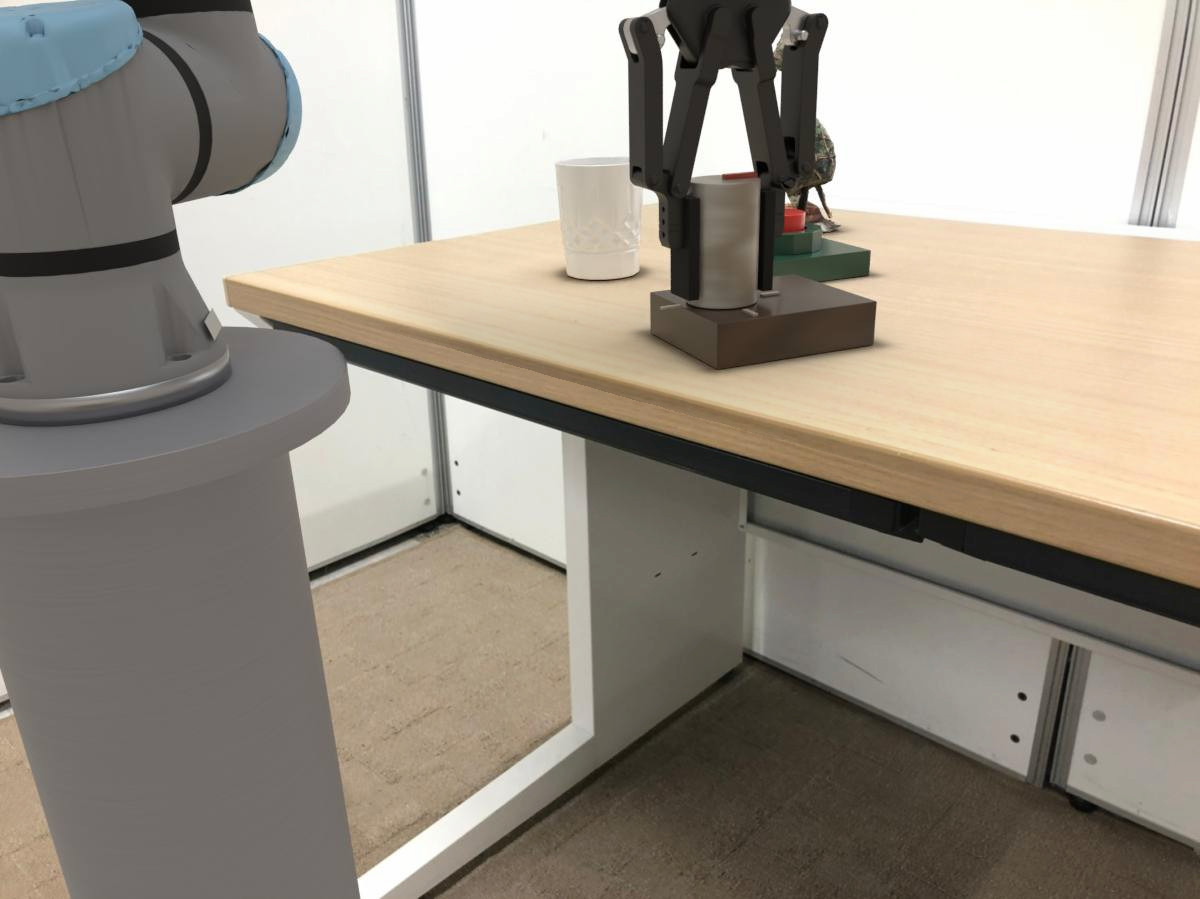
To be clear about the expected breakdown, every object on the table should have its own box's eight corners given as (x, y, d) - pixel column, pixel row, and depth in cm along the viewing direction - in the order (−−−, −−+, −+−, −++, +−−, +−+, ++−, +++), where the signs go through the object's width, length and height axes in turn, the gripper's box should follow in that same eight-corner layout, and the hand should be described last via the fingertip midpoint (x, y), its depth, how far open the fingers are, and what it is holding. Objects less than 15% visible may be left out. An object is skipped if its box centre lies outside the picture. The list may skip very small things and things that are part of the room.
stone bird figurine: (778, 240, 104) (786, 33, 96) (753, 223, 114) (758, 35, 106) (854, 236, 104) (867, 31, 97) (821, 219, 115) (831, 33, 107)
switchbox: (750, 290, 82) (751, 242, 81) (694, 269, 91) (695, 225, 90) (869, 275, 87) (872, 229, 85) (805, 256, 95) (807, 214, 94)
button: (774, 237, 85) (774, 216, 84) (750, 230, 88) (750, 210, 88) (813, 233, 86) (814, 212, 86) (788, 226, 90) (789, 207, 89)
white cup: (628, 261, 95) (626, 154, 92) (657, 277, 88) (656, 161, 85) (550, 268, 93) (544, 159, 90) (573, 285, 86) (568, 167, 83)
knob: (706, 312, 64) (707, 180, 61) (673, 297, 68) (673, 173, 65) (770, 303, 65) (775, 175, 62) (734, 289, 70) (737, 168, 66)
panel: (696, 373, 62) (696, 324, 61) (631, 335, 71) (630, 292, 69) (873, 344, 67) (877, 298, 65) (792, 312, 75) (794, 271, 74)
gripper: (612, -116, 51) (622, 320, 60) (893, -107, 58) (865, 287, 66) (562, -95, 58) (577, 295, 67) (820, -90, 64) (803, 267, 73)
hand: (721, 290), depth 66 cm, fingers closed on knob, 5 cm apart
